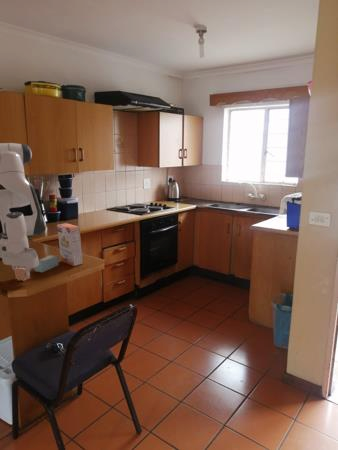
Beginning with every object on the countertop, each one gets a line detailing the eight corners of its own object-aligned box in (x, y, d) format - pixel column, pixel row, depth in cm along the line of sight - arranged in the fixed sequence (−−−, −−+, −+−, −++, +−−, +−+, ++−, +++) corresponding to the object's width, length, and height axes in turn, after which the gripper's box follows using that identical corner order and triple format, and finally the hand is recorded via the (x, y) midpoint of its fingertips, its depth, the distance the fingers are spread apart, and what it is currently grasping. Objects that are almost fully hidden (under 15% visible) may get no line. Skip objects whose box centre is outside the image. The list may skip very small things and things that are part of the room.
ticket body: (34, 271, 177) (33, 261, 176) (51, 264, 188) (50, 254, 187) (42, 272, 175) (41, 262, 174) (58, 264, 186) (57, 255, 185)
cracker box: (60, 261, 191) (56, 224, 187) (70, 259, 196) (66, 222, 191) (73, 267, 182) (69, 228, 177) (83, 264, 186) (79, 225, 181)
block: (15, 279, 167) (14, 269, 165) (22, 276, 170) (21, 266, 169) (23, 280, 165) (22, 270, 163) (30, 277, 168) (28, 267, 167)
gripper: (40, 246, 162) (43, 274, 165) (8, 243, 171) (12, 270, 174) (30, 250, 157) (33, 279, 160) (-3, 246, 165) (1, 274, 168)
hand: (22, 274), depth 167 cm, fingers closed on block, 5 cm apart
